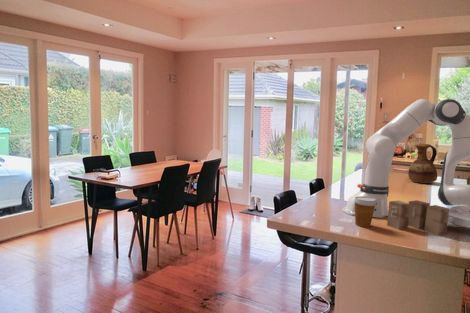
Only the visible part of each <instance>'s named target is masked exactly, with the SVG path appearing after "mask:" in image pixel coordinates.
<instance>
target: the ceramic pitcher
mask: <svg viewBox="0 0 470 313" xmlns="http://www.w3.org/2000/svg"><path fill="white" fill-rule="evenodd" d="M414 147H416V149H417V151H416V152H417V157H416V159H414V160H413V162H412V163H411V164H410V165H409V168H408V172H407V173H408V174H407V177H408V179H409V181H411V182H414V183H418V182H419V183H421V184H426V183H434V182H436V181H438V171H437V168H436V166H435V164H434V163H435V159H436V158H437V151H438V150H437V149H436V148H437V147H436V148H435V147H434V146H433V145H431V144H429V143H426V144H425V143H421V144H414ZM429 148H430V149H431V150H432V153H431V157H430V159H428V156H427V151H428V149H429Z"/></svg>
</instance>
